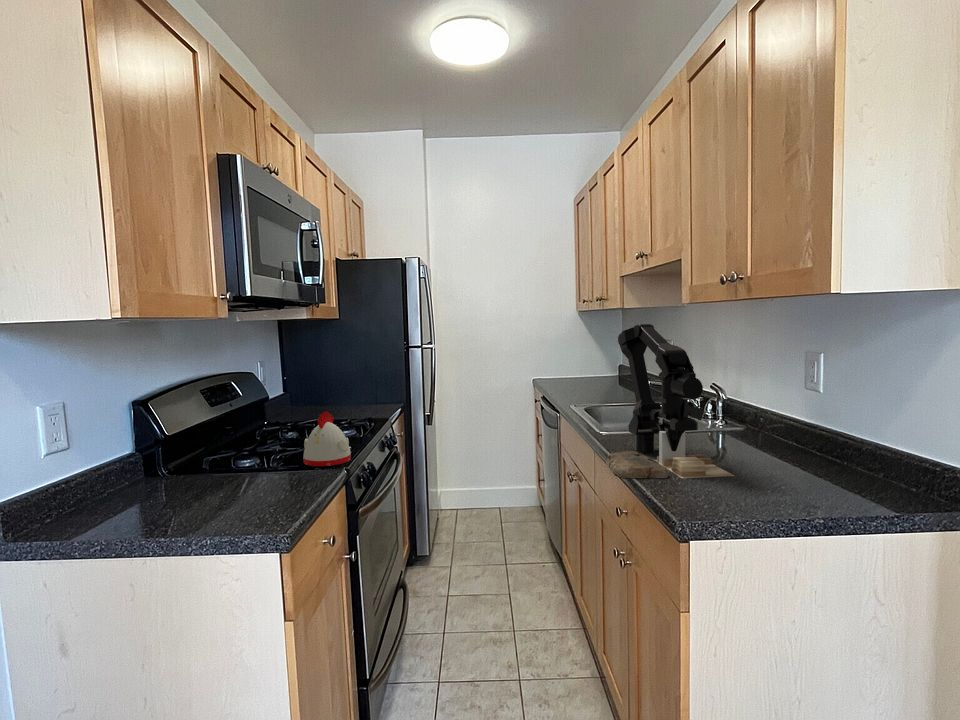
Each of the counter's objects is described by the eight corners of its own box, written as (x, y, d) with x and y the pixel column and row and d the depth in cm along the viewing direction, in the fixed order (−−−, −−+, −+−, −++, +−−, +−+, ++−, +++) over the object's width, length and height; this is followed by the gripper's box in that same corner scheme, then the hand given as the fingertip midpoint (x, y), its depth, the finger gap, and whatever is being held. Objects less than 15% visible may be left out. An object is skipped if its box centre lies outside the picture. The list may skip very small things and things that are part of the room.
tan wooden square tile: (671, 470, 145) (671, 466, 145) (694, 469, 145) (694, 465, 145) (681, 476, 139) (681, 472, 139) (705, 475, 139) (705, 471, 139)
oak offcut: (672, 466, 145) (672, 461, 144) (694, 465, 145) (694, 460, 145) (681, 472, 139) (681, 467, 139) (705, 471, 139) (705, 466, 139)
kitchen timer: (294, 465, 162) (292, 415, 161) (318, 454, 175) (316, 408, 174) (337, 467, 159) (335, 416, 158) (358, 455, 172) (356, 408, 171)
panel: (659, 462, 153) (659, 431, 152) (682, 461, 153) (682, 430, 153) (662, 464, 151) (662, 432, 150) (685, 463, 151) (685, 431, 151)
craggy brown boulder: (599, 463, 158) (615, 482, 139) (599, 446, 158) (615, 463, 138) (647, 463, 158) (670, 482, 138) (648, 446, 158) (671, 463, 138)
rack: (653, 463, 156) (653, 455, 156) (701, 461, 157) (701, 453, 157) (681, 481, 138) (681, 472, 138) (735, 478, 139) (735, 470, 139)
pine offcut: (672, 462, 144) (672, 457, 144) (694, 461, 145) (694, 456, 145) (681, 467, 139) (681, 462, 139) (704, 466, 140) (704, 461, 139)
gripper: (717, 398, 142) (717, 457, 143) (685, 389, 161) (685, 441, 162) (676, 399, 141) (675, 459, 142) (648, 390, 160) (648, 443, 161)
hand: (672, 450), depth 152 cm, fingers closed on panel, 2 cm apart
